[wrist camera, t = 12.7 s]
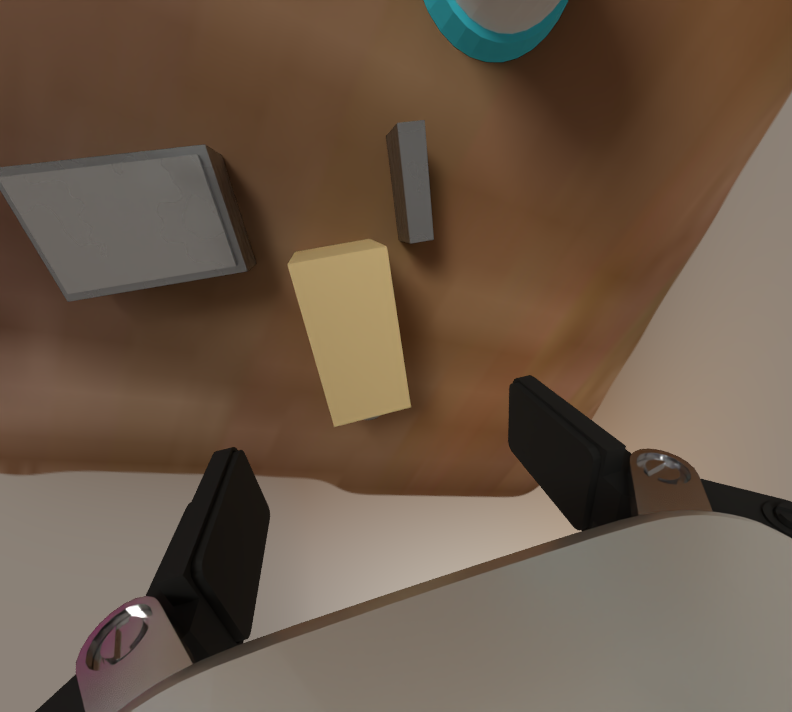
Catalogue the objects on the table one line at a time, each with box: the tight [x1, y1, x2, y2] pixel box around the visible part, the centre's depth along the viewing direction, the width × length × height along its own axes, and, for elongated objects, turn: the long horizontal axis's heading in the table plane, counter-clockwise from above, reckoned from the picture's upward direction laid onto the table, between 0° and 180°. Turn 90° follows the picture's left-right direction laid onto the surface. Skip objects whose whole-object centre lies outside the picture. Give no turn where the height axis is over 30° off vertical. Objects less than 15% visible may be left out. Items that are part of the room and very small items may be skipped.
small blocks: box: [0, 120, 434, 302], centre depth 18 cm, size 20×6×3 cm, turn 98°
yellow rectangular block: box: [287, 239, 411, 427], centre depth 21 cm, size 5×12×6 cm, turn 8°
